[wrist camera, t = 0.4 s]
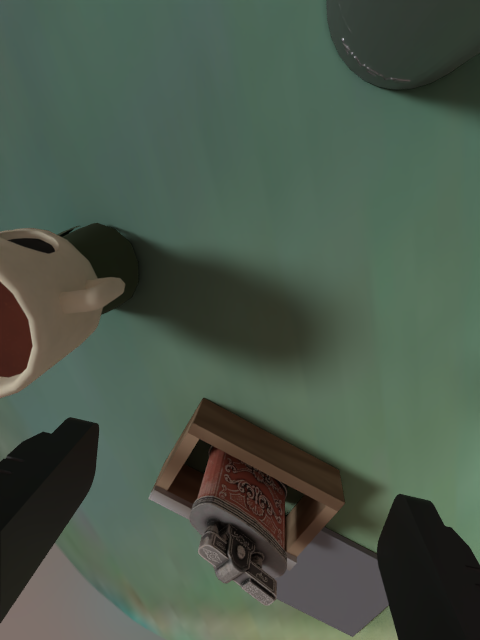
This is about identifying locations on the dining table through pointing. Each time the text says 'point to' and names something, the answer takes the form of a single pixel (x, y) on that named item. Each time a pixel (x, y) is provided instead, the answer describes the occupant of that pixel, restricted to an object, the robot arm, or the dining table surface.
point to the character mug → (57, 294)
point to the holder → (263, 454)
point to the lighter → (242, 524)
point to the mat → (335, 583)
